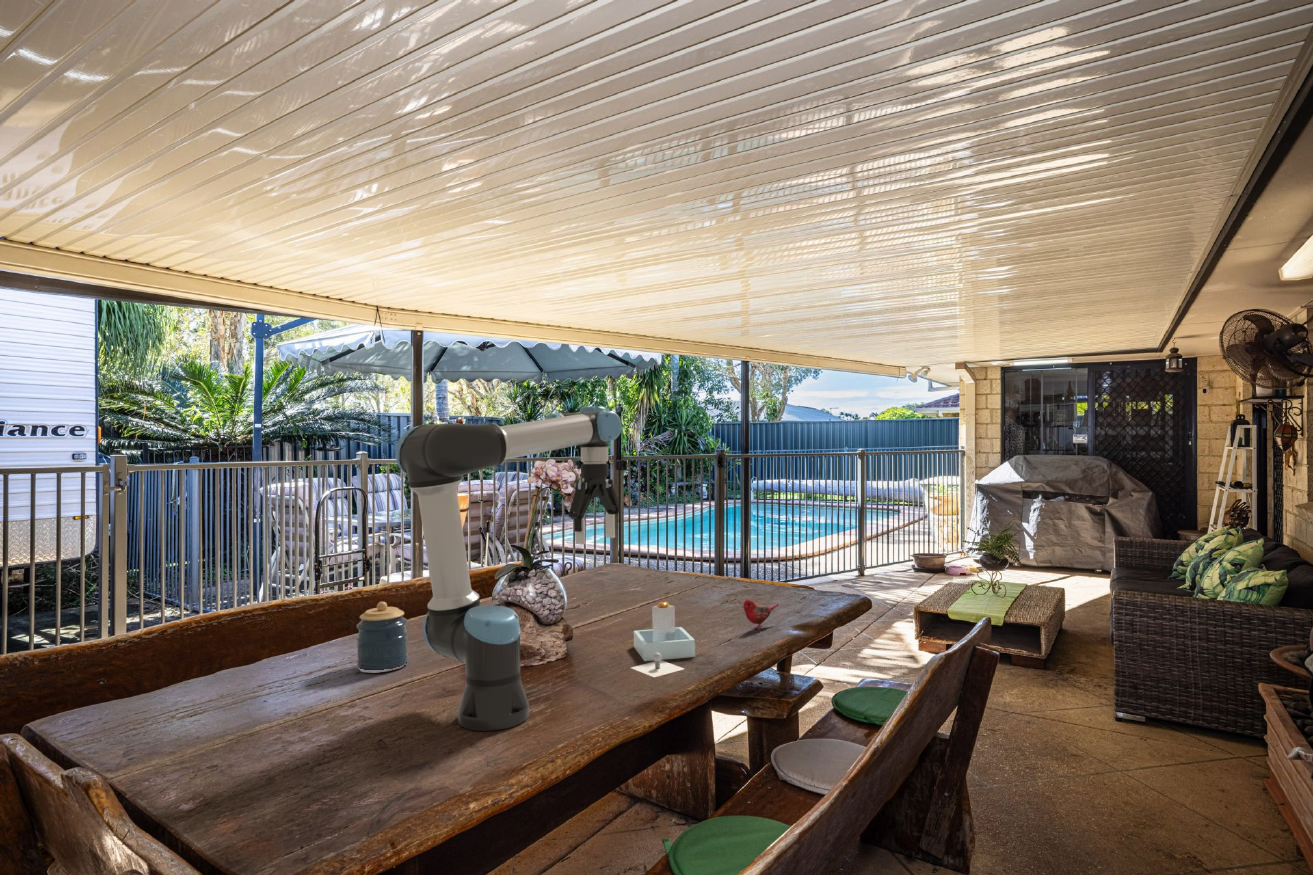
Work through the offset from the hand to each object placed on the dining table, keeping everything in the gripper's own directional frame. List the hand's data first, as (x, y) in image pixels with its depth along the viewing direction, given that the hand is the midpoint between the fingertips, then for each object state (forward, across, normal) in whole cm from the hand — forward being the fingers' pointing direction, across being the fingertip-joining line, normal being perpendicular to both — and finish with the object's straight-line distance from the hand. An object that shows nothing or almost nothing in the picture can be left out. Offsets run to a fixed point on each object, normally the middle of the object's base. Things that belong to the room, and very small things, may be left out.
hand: (595, 540), depth 199 cm
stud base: (+33, +2, +20) cm, 39 cm away
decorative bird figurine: (+33, -53, +25) cm, 67 cm away
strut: (+32, -11, +14) cm, 37 cm away
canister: (+33, +32, -48) cm, 67 cm away
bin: (+33, -11, +14) cm, 37 cm away
